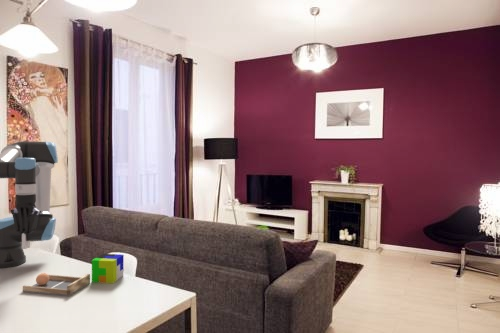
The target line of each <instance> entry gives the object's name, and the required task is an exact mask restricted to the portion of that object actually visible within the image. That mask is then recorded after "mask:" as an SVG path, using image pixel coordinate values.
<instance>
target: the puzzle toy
mask: <svg viewBox="0 0 500 333" xmlns="http://www.w3.org/2000/svg"><path fill="white" fill-rule="evenodd" d="M124 256H125V255H124V254H116V253H114V254H113V253H112V254H111V253H102V254H100V255H99V256H97V257H95V258H93V259H92V260H91V283H101V284H103V283H104V284H114V283H116V282H117V281H118V280H120V279H121V278H122V277H123V276H124ZM115 281H116V282H115Z"/></svg>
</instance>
